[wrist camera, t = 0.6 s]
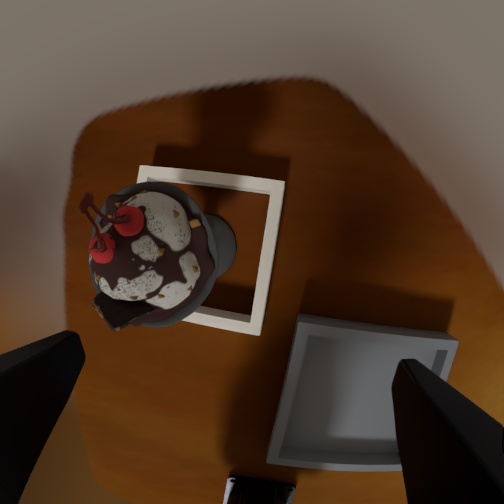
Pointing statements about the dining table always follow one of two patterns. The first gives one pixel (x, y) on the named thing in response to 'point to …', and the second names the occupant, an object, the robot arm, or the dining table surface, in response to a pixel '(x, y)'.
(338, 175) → the dining table surface
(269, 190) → the white square frame
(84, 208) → the sundae
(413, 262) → the dining table surface
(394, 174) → the dining table surface
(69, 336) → the robot arm
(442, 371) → the tray
